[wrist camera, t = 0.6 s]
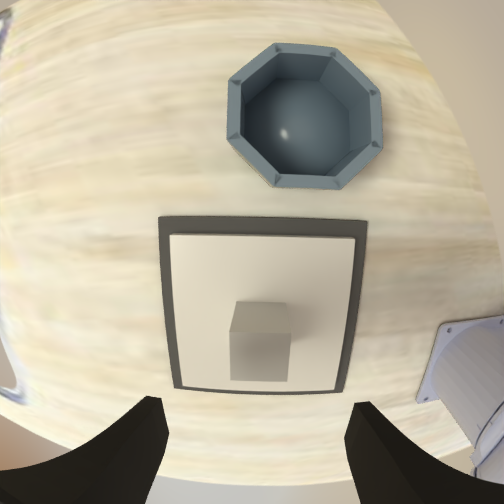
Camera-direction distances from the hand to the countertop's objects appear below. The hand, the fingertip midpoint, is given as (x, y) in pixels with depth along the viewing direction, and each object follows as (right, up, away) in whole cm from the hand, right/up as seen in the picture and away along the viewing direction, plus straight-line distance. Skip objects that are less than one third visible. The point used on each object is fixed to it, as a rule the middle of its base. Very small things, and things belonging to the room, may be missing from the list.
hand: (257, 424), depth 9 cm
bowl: (+3, +14, +7) cm, 16 cm away
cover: (0, +2, +9) cm, 10 cm away
